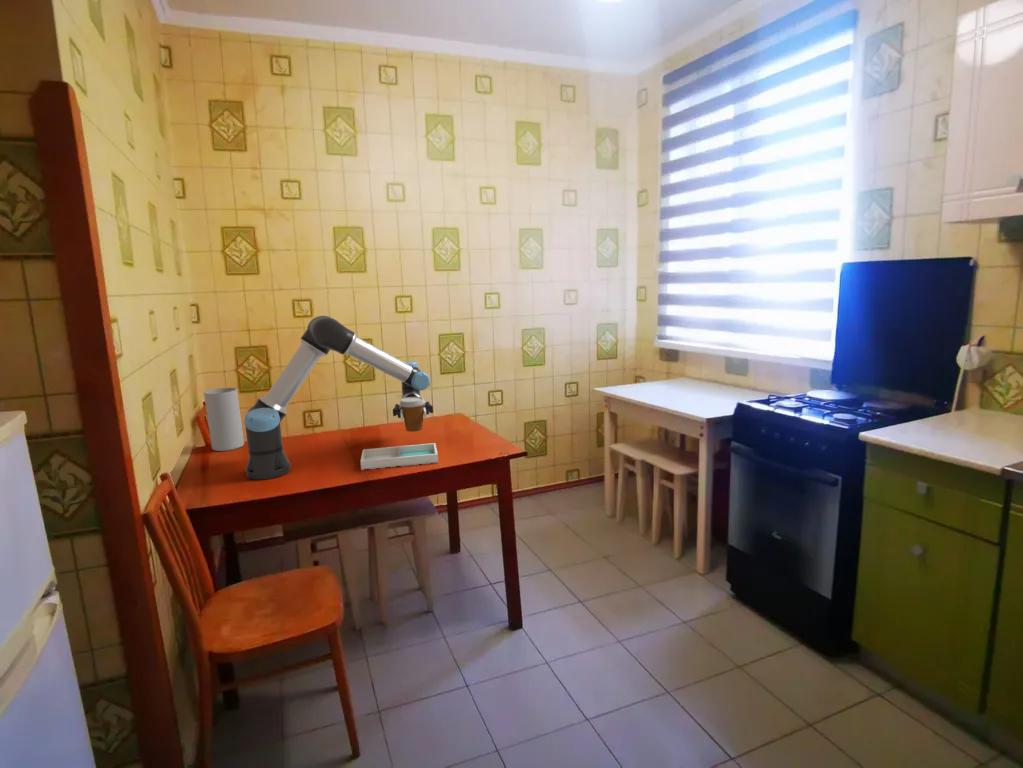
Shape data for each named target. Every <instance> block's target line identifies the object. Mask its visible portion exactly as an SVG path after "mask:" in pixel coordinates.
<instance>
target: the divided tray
mask: <svg viewBox="0 0 1023 768" xmlns="http://www.w3.org/2000/svg"><path fill="white" fill-rule="evenodd" d="M438 453H439V452H438V449H437V443H436V442H433V443H422V444H421V443H420V444H411V445H410V444H409V445H408V444H407V445H397V446H388V447H375V448H366V449H365V448H364V449H362V453H361V456H360V462H359V463H360V471H365V470H364V469H370V470H377V469H376V468H380V469H386V468H385V467H391V468H397V467H396V466H401V467H409V466H410V467H411V465H412V466H420V465H419V464H422V465H430V464H431V463H433V464H438V463H439V454H438ZM431 465H432V464H431Z"/></svg>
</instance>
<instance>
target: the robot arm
mask: <svg viewBox="0 0 1023 768" xmlns="http://www.w3.org/2000/svg"><path fill="white" fill-rule="evenodd" d="M330 351H334V352H337V353H339V354H341V355H343V356H344V355H348V356H350V357H352V358H354V359H356V360H358V361H360V362H363V363H364V364H366V365H368V366H370V367H372V368H374V369H376V370H378V371H380V372H382V373H384V374H386V375H388V376H390V377H392V378H394V379H397V380H398V381H400V382H401V394H402V395H401V396H402V397H401V398H402V399H403V398H408V397H421V392H420V391H425V390H426V389H428V388H429V387H430V384H431V378H430V375H428V374H427V372H424V371H423V370H420V369H419V363H418V362H417V361H414V360H413V361H411V360H408V361H403V360H402V359H399V358H397V357H396V356H394V355H392V354H391V353H388V352H386V351H385V350H383V349H381V348H379V347H377V346H375V345H373V344H372V343H369V342H368V341H366V340H364V339H362V338H360V337H358V336H357V334H356V333H355V332H354V331H352V330H351V329H349V328H348V327H346V326H344V325H343V324H342V322H339V321H338V320H337V319H334V318H333V317H330V316H328V315H319V316H316V317H314V318H312V319H311V320H310V321H309V323H308V324H307V328H306V330H305V332H304V333H303V334H302V336H301V337H300V346H299V347H298V349H297V350H296V352H295V353H294V355H293V356H292V358H291V359H290V360H289V361H288V363H287V365H286V366H285V368H284V369H283V370H282V372H281V373H280V375H279V376H278V378H277V379H276V380H275V382H274V384H273V385H272V386H271V388H270V389H269V391H267V393H266V395H265V396H261V397H259V398H257V400H256V402H255V404H254V405H253V406H251V407H250V408H249V409H248V410H247V412H246V413H245V415H244V420H243V423H244V426H245V432H246V440H247V442H246V443H247V448H248V458H247V459H248V460H247V464H246V469H245V474H246V475H245V476H246V477H247V478H248V479H250V480H257V481H258V480H260V481H261V480H269V479H275V478H278V477H281V476H284V475H285V474H288V473H289V472H291V464H290V461H289V458H288V456H287V454H286V453H285V451H284V446H283V445H284V444H283V438H282V437H283V435H282V427H281V423H282V421H283V420H284V418H285V416H286V415H287V414H288V412H287V407H288V405H289V404H290V402H291V401H292V399H293V398H294V396H295V395H296V394H297V392H298V390H299V389H300V388H301V386H302V385H303V383H304V382H305V380H306V379H307V377H308V376H309V375H310V373H311V372H312V370H313V368H314V367H315V366H316V364H317V363H318V361H319V360H320V358H322V357H325V356H327V355H328V354H329V352H330ZM433 413H434V406H433V405H432V404H430V401H425V404H424V414H423V419H427V415H430V414H433ZM392 415H393V417H396V416H397V418H398V419H400V421H402V422H403V421H404V417H403V412H402V407H401V405H400V404H398V403H396V404H394V408H393V409H392Z"/></svg>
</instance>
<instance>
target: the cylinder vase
mask: <svg viewBox="0 0 1023 768" xmlns="http://www.w3.org/2000/svg"><path fill="white" fill-rule="evenodd" d="M238 394H239V393H238V389H237V387H219V388H211V389H208V390H205V391H204V392H203V396H204V402H205V410H206V416H207V423H208V430H209V438H210V444H211V449H212V450H213V451H217V452H227V451H233V450H237V449H239V448H242V447H243V446H245V441H244V440H245V439H244V438H245V437H244V433H243V425H242V416H241V410H240V403H239V395H238Z"/></svg>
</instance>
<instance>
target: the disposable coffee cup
mask: <svg viewBox="0 0 1023 768" xmlns="http://www.w3.org/2000/svg"><path fill="white" fill-rule="evenodd" d="M425 403H426V401H425V399H424V397H421V396H420V397H408V398H403V399H401V400H400V403H399V405H400V406H401V407H402V412H403V421H404V425H405V430H406V432H411V433H412V432H421V431H422V430H423V429H424V428H423V427H424V404H425Z"/></svg>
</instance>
